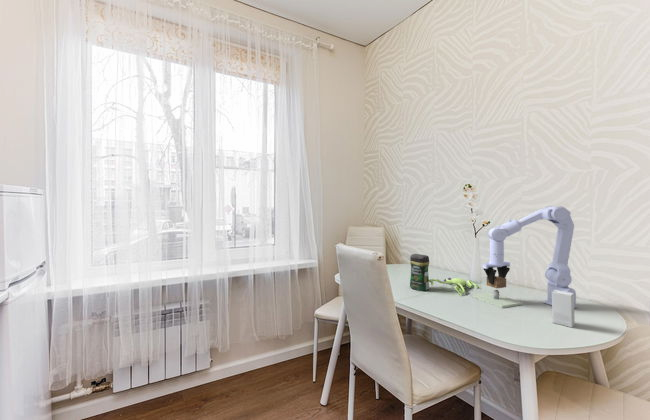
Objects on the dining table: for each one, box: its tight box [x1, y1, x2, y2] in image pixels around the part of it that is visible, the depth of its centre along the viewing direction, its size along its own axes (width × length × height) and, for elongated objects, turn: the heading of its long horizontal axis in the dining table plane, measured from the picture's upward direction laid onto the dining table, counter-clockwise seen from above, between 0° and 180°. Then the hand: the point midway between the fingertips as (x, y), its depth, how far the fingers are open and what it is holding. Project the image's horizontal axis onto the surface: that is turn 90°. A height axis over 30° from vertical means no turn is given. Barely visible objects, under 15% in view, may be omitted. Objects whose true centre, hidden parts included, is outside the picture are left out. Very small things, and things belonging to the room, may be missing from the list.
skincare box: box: [551, 290, 576, 328], centre depth 110 cm, size 6×4×12 cm
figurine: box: [429, 277, 480, 297], centre depth 157 cm, size 18×27×6 cm
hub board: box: [472, 289, 523, 309], centre depth 136 cm, size 16×12×5 cm
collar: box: [486, 275, 507, 289], centre depth 136 cm, size 6×6×4 cm
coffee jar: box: [409, 253, 430, 292], centre depth 156 cm, size 10×8×19 cm
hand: (496, 282), depth 136 cm, fingers closed on collar, 6 cm apart
